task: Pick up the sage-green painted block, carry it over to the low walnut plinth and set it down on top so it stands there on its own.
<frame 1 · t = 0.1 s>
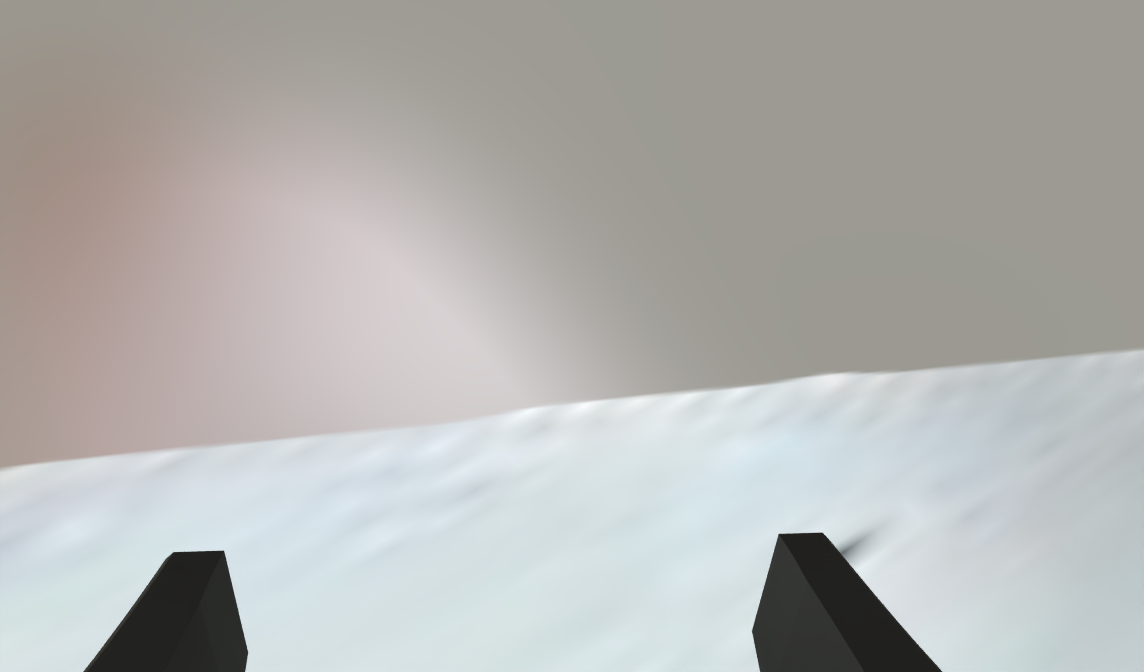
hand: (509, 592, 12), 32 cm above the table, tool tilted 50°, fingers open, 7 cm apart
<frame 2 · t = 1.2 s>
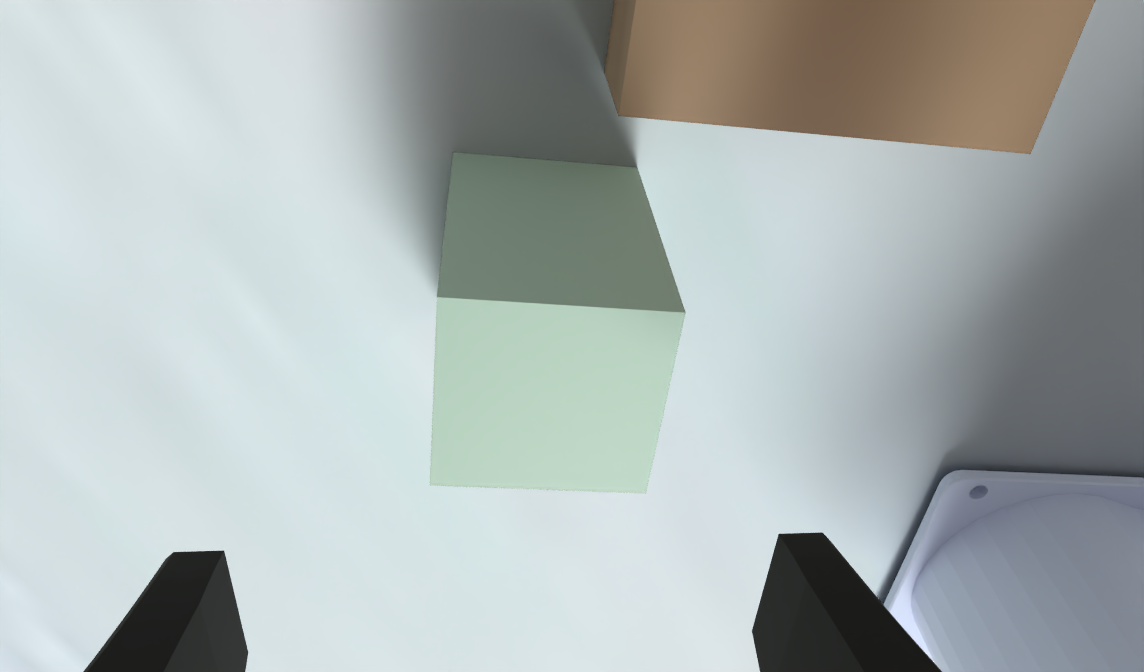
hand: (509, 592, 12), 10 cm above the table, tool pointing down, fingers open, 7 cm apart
green block: (537, 241, 20), on the table
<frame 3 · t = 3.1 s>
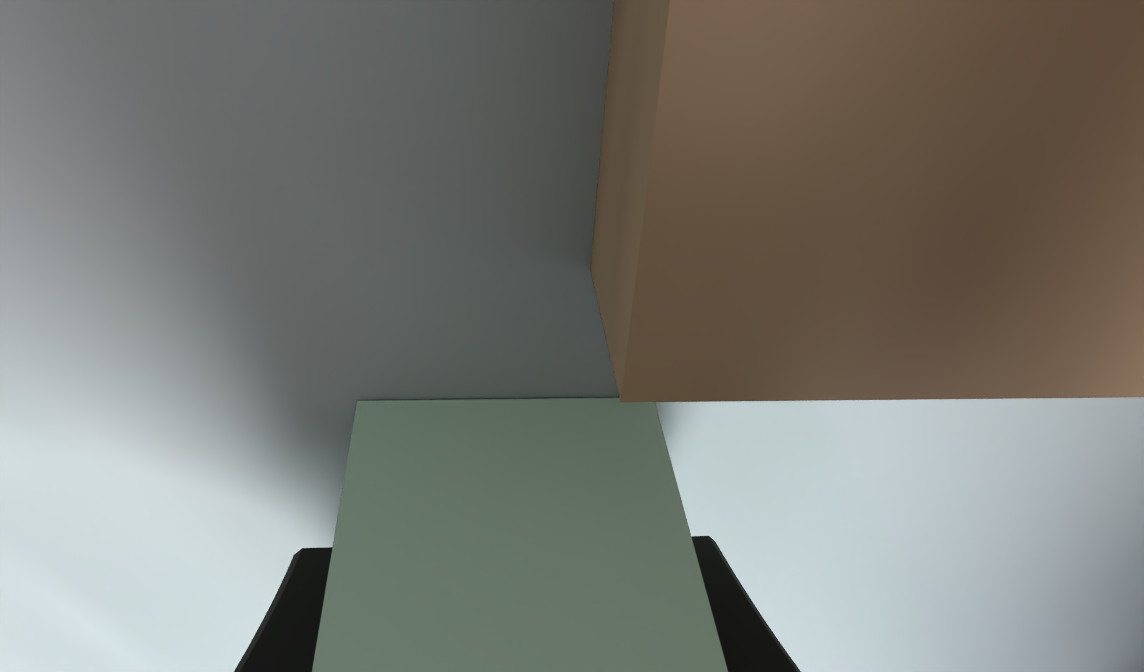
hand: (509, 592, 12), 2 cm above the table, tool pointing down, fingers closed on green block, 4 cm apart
green block: (505, 504, 13), on the table, touching gripper
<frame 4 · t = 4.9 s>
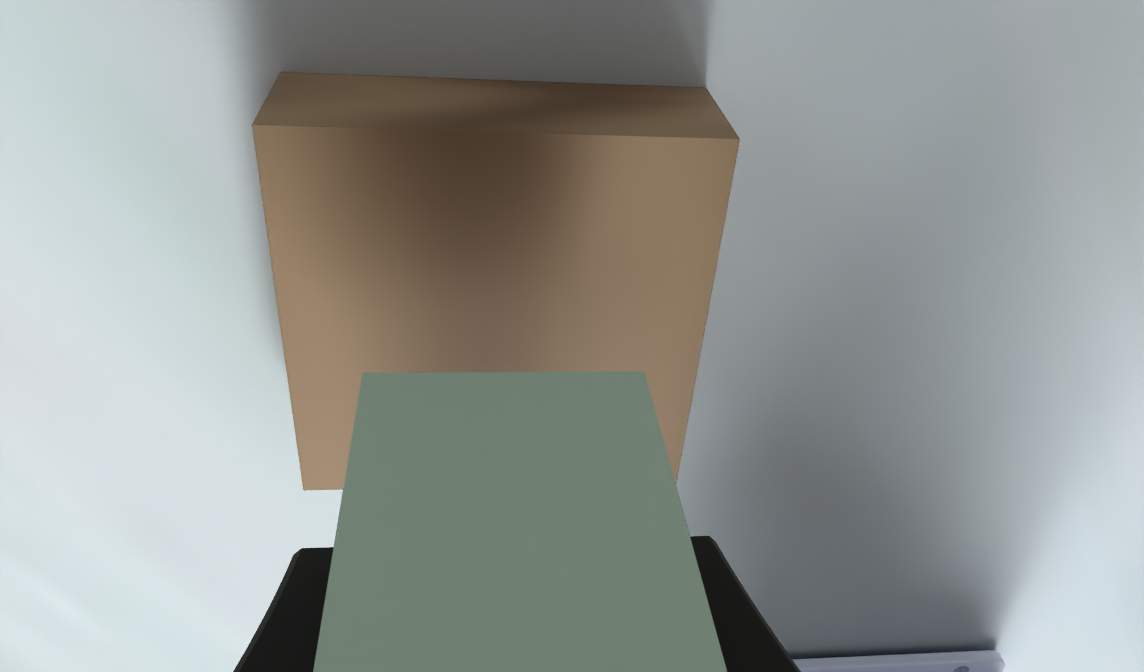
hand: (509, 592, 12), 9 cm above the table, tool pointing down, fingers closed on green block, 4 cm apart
green block: (503, 475, 14), point 6 cm above the table, touching gripper
walnut plinth: (494, 255, 19), on the table
when the fingers open (6 cm above the table, at t = 6.5 s): green block stays where it is, point 3 cm above the table.
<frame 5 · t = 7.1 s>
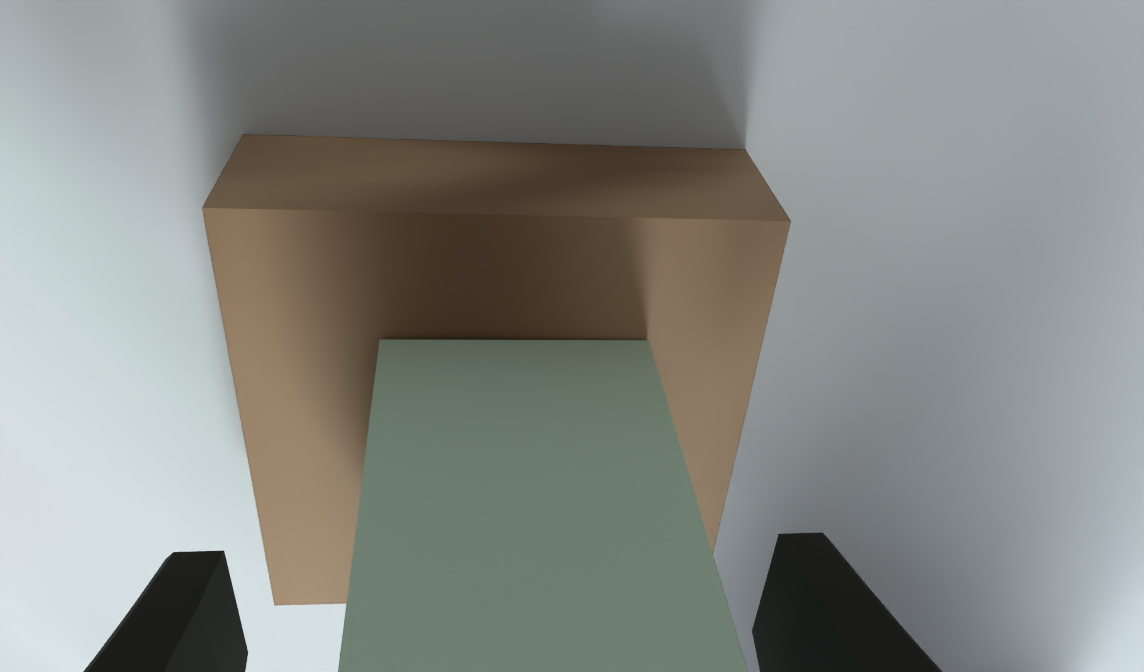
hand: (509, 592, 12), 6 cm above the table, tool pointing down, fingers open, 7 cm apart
green block: (511, 440, 14), point 3 cm above the table
walnut plinth: (496, 332, 17), on the table
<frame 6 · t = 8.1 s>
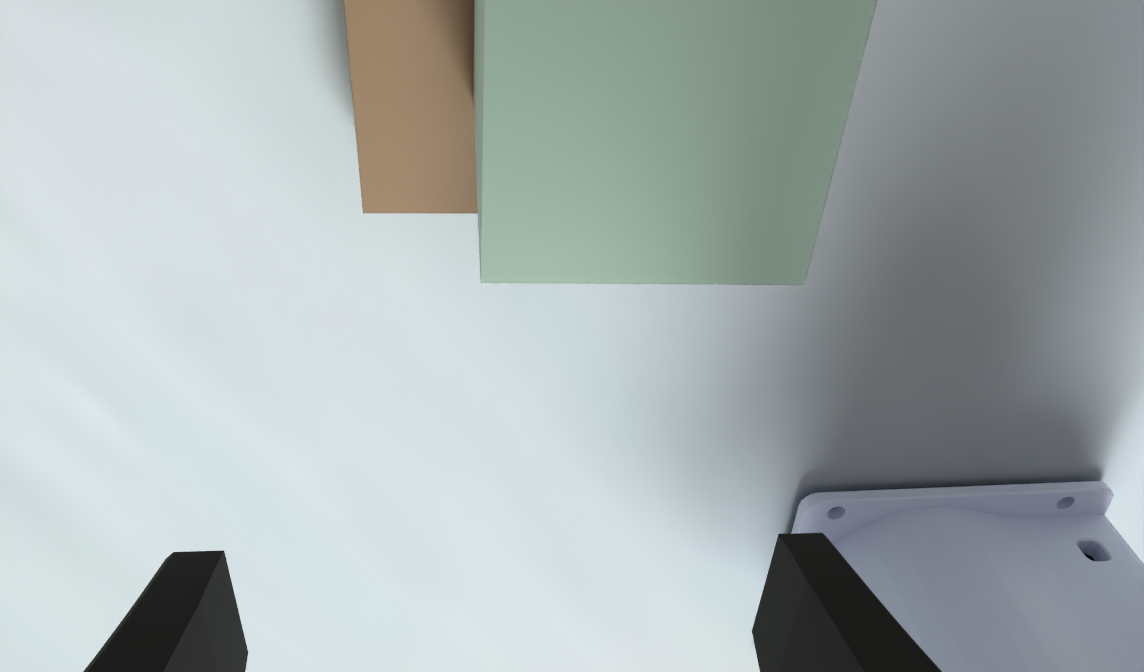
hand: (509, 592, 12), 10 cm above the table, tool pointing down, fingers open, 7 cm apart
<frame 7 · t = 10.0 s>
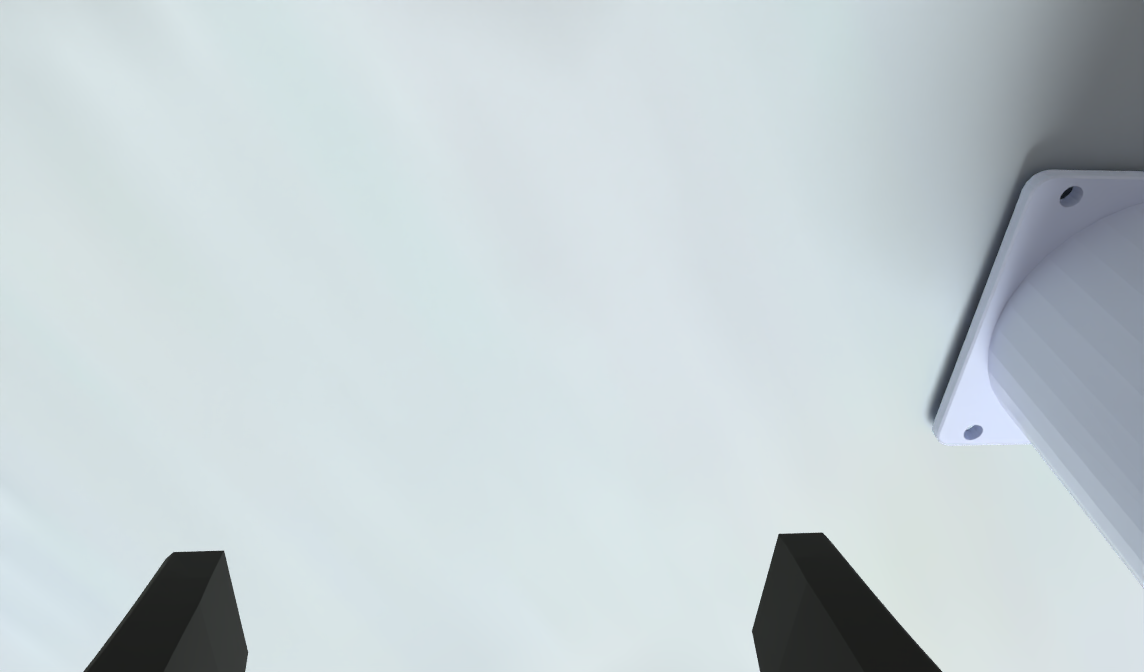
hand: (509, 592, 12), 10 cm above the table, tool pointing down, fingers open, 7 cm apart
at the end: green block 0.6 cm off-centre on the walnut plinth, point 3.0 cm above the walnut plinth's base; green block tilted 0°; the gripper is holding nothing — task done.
